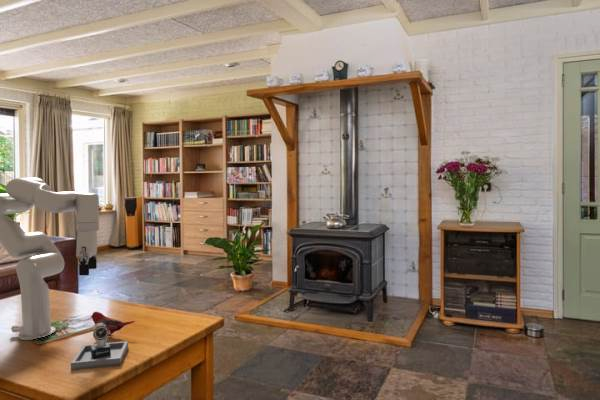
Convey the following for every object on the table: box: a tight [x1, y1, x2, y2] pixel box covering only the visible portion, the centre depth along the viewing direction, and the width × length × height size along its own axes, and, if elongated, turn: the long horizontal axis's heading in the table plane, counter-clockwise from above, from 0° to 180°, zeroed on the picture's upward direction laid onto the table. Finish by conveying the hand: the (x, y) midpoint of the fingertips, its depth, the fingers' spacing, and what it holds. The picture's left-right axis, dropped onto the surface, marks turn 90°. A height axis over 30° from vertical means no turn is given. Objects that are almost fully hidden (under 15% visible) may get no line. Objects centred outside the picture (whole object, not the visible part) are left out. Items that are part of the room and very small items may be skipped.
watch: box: [91, 323, 111, 359], centre depth 149 cm, size 6×8×11 cm
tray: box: [70, 341, 129, 371], centre depth 149 cm, size 15×15×2 cm
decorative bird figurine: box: [90, 311, 136, 338], centre depth 168 cm, size 3×18×10 cm, turn 88°
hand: (88, 271), depth 162 cm, fingers open, 9 cm apart
